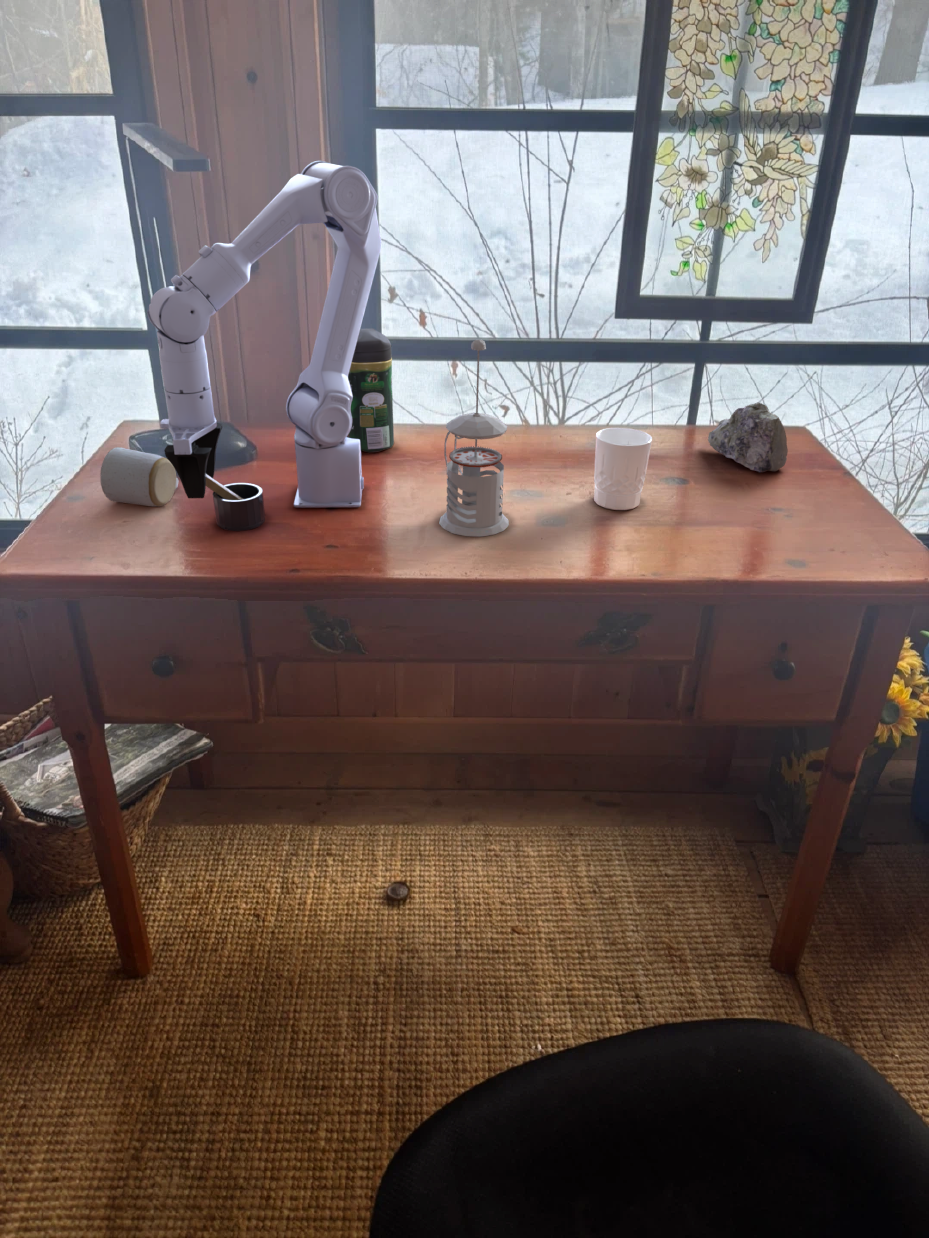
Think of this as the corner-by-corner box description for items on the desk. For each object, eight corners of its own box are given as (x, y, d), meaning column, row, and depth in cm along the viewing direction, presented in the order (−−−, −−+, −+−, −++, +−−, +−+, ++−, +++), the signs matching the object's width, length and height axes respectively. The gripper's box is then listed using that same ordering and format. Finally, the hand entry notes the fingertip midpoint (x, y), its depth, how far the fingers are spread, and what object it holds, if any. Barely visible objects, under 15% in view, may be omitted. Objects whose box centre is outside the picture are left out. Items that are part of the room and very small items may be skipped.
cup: (268, 511, 129) (265, 482, 127) (262, 530, 123) (259, 501, 121) (220, 511, 129) (217, 483, 127) (212, 531, 123) (208, 501, 121)
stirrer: (260, 516, 126) (255, 459, 122) (259, 518, 126) (254, 461, 121) (185, 515, 126) (178, 458, 121) (184, 518, 125) (176, 460, 121)
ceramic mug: (156, 515, 127) (148, 463, 123) (103, 509, 128) (94, 456, 125) (193, 489, 136) (187, 439, 132) (143, 483, 137) (135, 433, 134)
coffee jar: (342, 436, 157) (336, 325, 148) (388, 433, 159) (385, 324, 149) (349, 455, 149) (344, 340, 139) (397, 452, 151) (395, 338, 141)
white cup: (649, 497, 136) (658, 432, 131) (635, 516, 130) (643, 449, 125) (599, 487, 139) (605, 424, 134) (582, 506, 133) (588, 440, 128)
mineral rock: (703, 446, 156) (712, 388, 151) (766, 447, 156) (777, 389, 151) (722, 473, 145) (733, 412, 140) (789, 475, 145) (802, 413, 140)
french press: (462, 542, 122) (466, 353, 109) (419, 511, 130) (418, 332, 117) (523, 527, 126) (533, 343, 113) (477, 498, 135) (482, 324, 122)
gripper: (168, 372, 122) (181, 467, 129) (141, 404, 110) (158, 509, 117) (221, 372, 123) (232, 467, 130) (201, 404, 110) (214, 508, 117)
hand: (201, 487), depth 123 cm, fingers open, 6 cm apart
